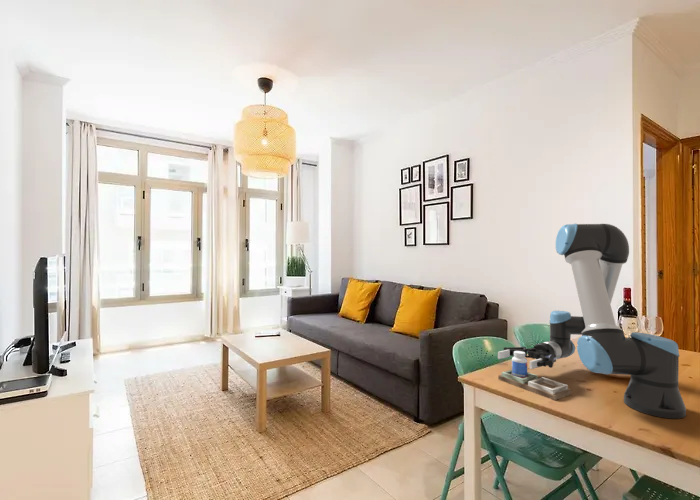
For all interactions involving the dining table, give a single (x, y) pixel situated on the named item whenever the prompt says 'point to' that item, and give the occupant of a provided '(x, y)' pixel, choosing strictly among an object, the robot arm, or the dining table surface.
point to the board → (537, 385)
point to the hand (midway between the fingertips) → (513, 360)
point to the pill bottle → (519, 364)
